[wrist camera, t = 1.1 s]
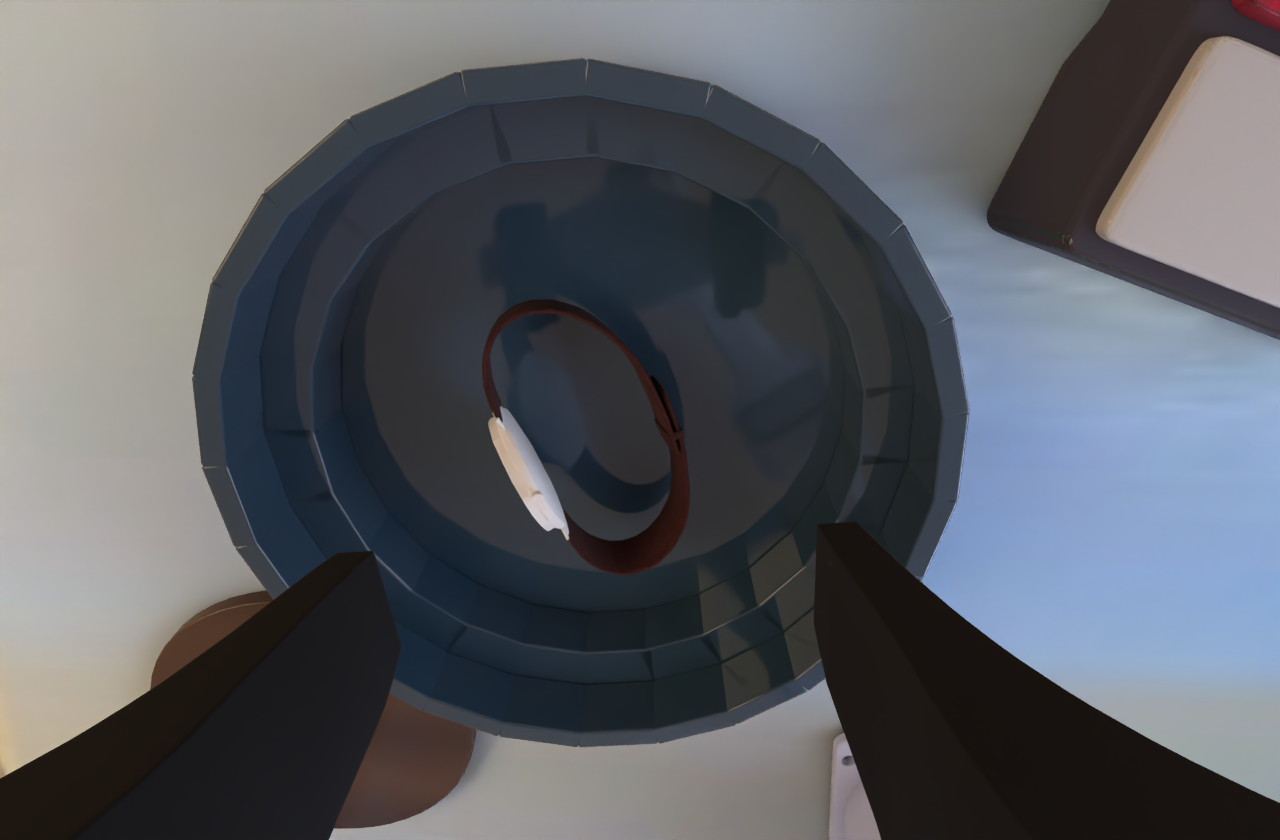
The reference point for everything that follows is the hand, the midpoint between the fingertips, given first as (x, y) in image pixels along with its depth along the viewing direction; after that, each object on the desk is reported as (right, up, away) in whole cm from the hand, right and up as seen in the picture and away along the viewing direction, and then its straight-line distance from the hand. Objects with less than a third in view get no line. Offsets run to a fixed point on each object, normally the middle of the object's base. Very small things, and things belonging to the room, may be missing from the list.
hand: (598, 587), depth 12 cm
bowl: (-1, +3, +8) cm, 9 cm away
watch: (-1, +3, +8) cm, 9 cm away
